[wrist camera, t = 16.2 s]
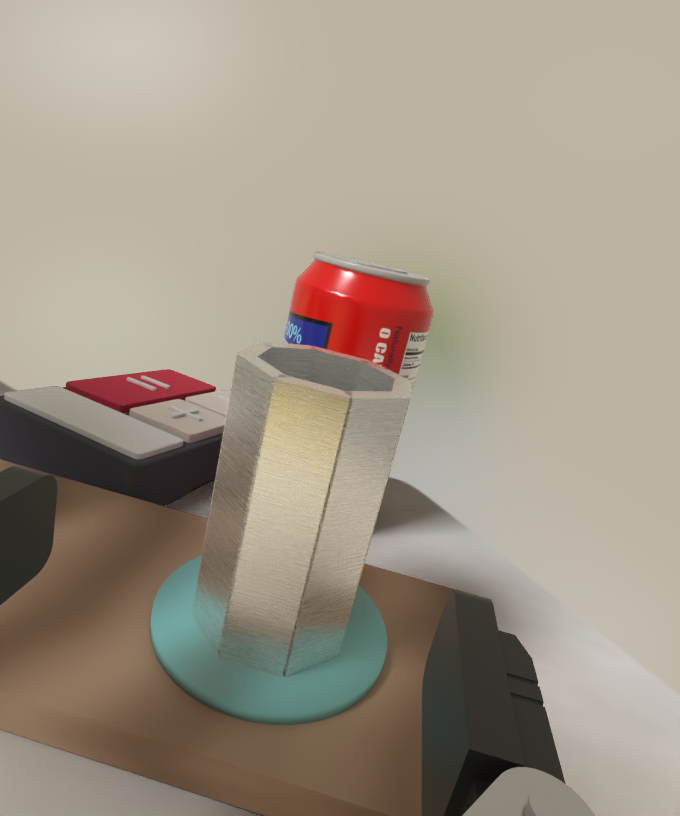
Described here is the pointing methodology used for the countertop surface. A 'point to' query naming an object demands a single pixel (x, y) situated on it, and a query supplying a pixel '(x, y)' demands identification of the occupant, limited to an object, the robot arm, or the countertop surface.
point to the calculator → (119, 432)
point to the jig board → (209, 672)
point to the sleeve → (295, 503)
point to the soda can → (362, 312)
